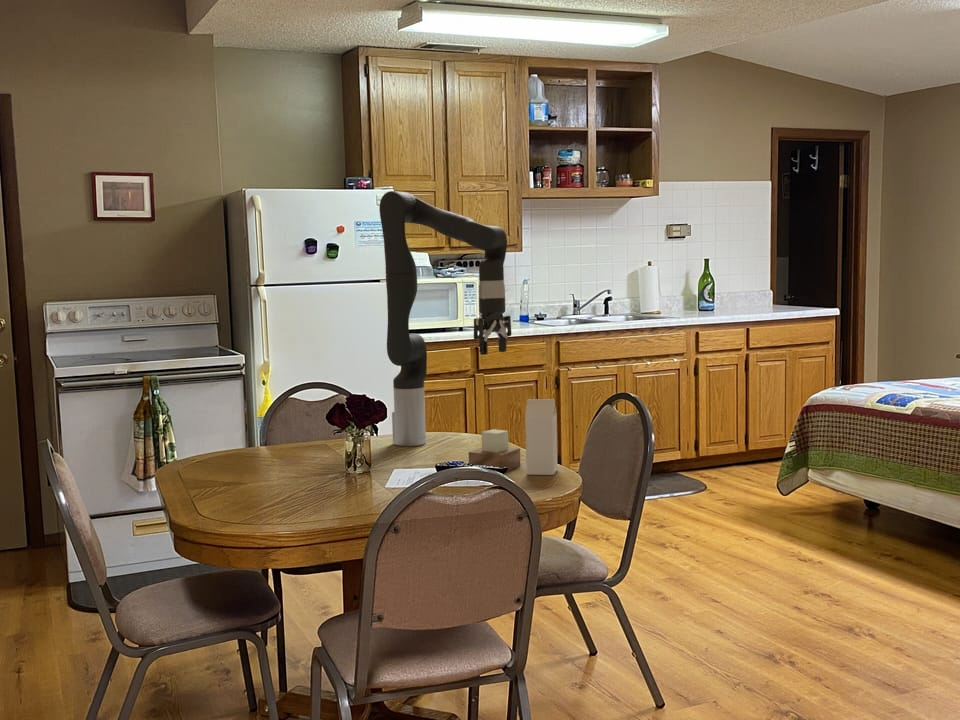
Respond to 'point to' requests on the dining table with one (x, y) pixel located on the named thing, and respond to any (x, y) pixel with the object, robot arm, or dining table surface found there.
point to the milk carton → (541, 437)
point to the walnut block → (496, 458)
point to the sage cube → (494, 440)
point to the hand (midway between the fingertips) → (493, 353)
